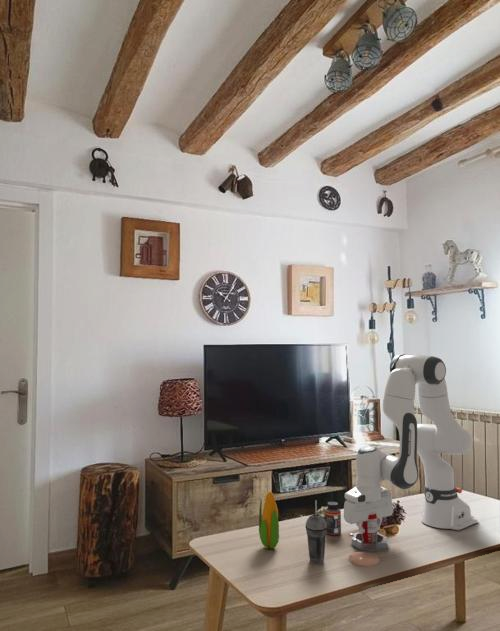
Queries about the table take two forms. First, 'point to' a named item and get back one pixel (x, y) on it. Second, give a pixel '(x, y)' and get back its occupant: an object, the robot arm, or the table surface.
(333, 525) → the supplement bottle
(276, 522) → the corn
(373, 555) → the peach dome
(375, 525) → the soda can
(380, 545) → the collar
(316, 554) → the beverage cup
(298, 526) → the table surface
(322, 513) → the fruit
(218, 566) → the table surface
